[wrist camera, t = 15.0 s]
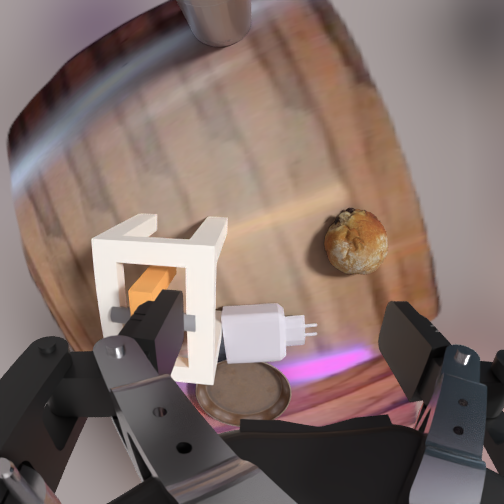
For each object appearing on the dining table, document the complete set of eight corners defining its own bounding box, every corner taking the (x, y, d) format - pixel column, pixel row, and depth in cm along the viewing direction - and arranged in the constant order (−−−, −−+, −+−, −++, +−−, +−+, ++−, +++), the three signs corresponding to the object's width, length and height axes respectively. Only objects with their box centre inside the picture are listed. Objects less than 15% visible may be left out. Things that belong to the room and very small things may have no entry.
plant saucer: (184, 358, 55) (181, 368, 52) (279, 340, 53) (281, 350, 50) (214, 421, 60) (212, 431, 57) (296, 408, 58) (298, 418, 55)
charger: (314, 344, 54) (229, 350, 54) (314, 297, 51) (223, 304, 51) (318, 359, 49) (227, 366, 49) (319, 310, 46) (220, 317, 47)
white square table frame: (139, 213, 47) (87, 241, 31) (227, 217, 47) (213, 248, 31) (144, 316, 52) (107, 375, 36) (223, 324, 52) (212, 390, 36)
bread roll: (317, 253, 52) (325, 289, 47) (324, 202, 46) (335, 236, 40) (372, 252, 52) (385, 286, 46) (385, 202, 45) (403, 235, 39)
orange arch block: (157, 257, 39) (128, 290, 29) (176, 258, 39) (151, 292, 29) (161, 324, 42) (138, 369, 32) (178, 326, 42) (159, 372, 32)
